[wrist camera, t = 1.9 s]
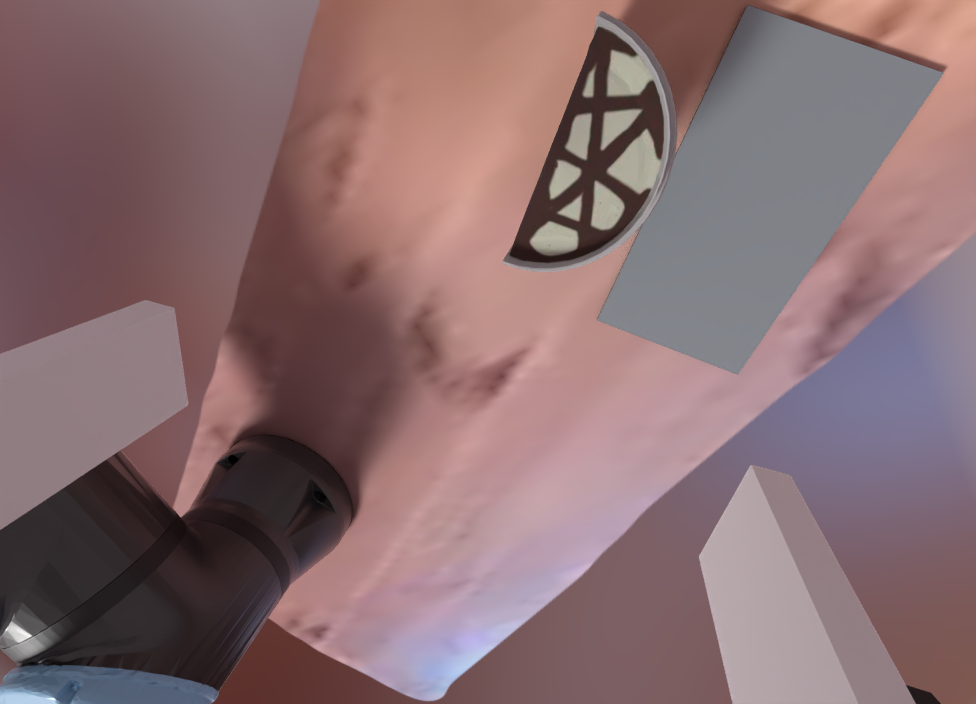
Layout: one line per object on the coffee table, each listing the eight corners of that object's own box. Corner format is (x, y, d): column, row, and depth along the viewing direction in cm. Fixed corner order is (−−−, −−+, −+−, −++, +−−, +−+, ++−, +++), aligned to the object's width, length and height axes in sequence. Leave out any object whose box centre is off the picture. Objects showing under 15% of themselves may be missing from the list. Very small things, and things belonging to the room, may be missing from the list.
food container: (603, 268, 33) (605, 316, 25) (524, 234, 34) (498, 271, 25) (697, 80, 28) (744, 56, 19) (601, 41, 28) (602, -1, 19)
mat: (597, 318, 35) (597, 320, 35) (746, 6, 26) (748, 4, 26) (736, 372, 35) (737, 374, 34) (940, 73, 25) (944, 72, 25)
